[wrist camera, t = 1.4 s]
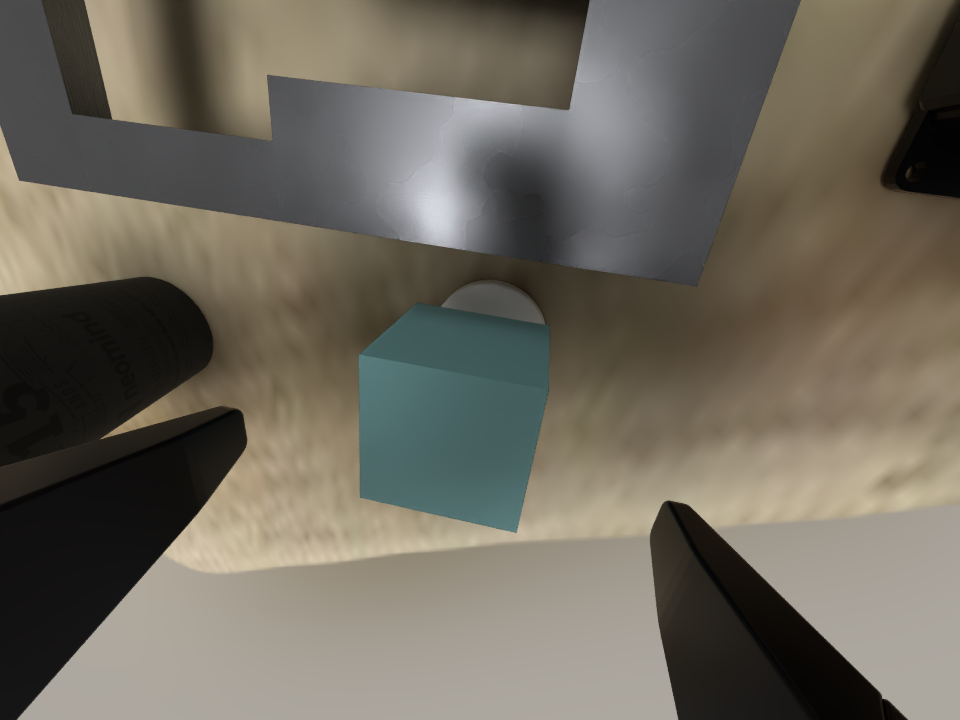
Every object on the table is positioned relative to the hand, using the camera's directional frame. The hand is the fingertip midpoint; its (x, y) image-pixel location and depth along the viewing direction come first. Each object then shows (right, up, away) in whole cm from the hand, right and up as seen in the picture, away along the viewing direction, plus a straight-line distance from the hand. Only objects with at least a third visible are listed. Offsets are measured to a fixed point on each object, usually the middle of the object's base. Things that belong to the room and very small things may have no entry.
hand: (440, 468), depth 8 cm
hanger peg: (+1, +3, +8) cm, 8 cm away
